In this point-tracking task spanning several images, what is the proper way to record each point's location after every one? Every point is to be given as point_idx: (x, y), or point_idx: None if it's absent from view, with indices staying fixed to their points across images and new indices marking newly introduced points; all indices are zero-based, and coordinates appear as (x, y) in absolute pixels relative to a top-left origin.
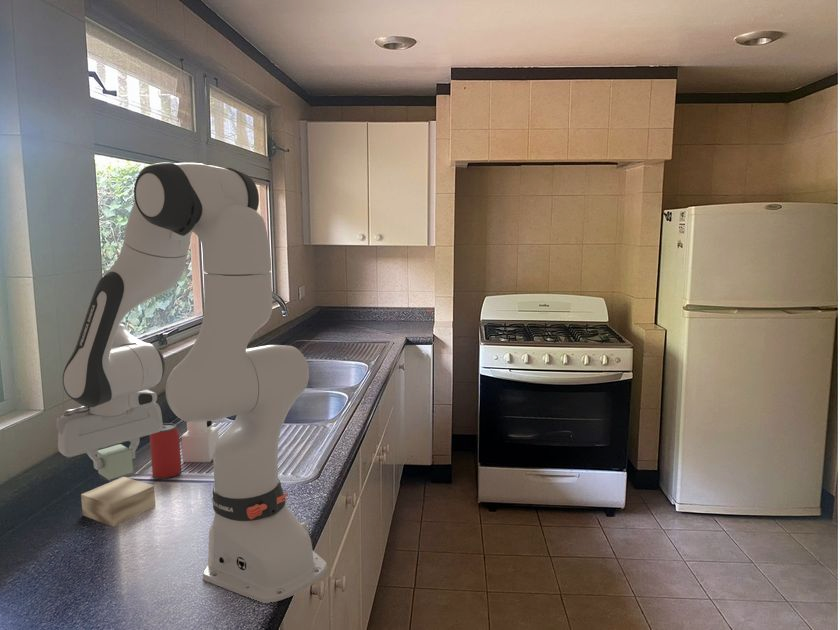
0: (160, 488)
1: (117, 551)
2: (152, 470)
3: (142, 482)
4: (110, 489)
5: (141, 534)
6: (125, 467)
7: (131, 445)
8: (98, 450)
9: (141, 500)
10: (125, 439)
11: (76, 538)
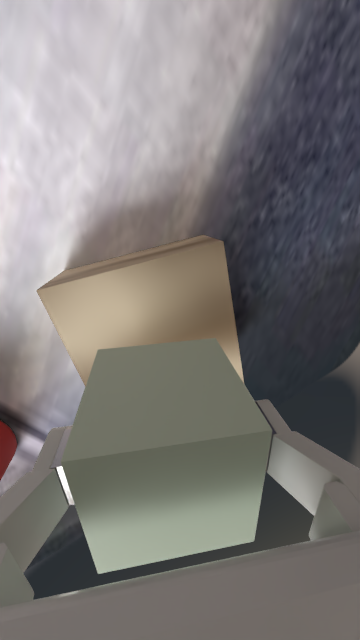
0: (18, 369)
1: (269, 41)
2: (10, 455)
3: (67, 348)
4: None
5: (166, 99)
6: (133, 367)
7: (34, 534)
8: (243, 541)
9: (103, 266)
10: (74, 631)
11: (289, 244)
